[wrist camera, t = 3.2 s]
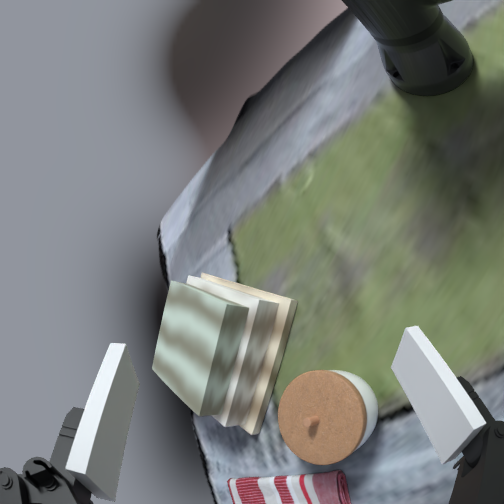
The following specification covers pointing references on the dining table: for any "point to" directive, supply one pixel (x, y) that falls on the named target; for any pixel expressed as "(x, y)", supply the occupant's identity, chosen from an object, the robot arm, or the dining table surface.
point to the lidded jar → (327, 415)
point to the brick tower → (223, 348)
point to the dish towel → (291, 489)
